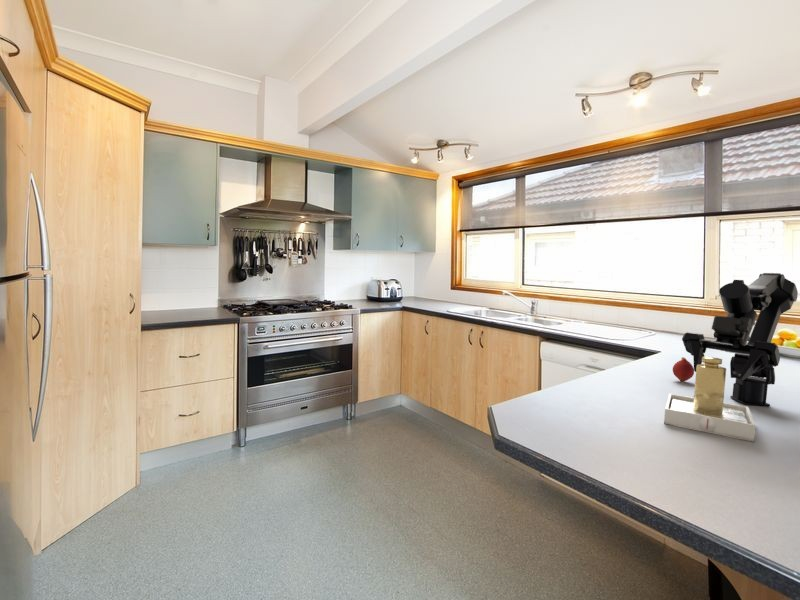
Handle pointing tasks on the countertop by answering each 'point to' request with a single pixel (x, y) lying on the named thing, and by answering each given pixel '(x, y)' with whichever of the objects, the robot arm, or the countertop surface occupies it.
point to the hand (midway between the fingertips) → (717, 375)
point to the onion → (683, 370)
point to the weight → (709, 386)
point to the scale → (710, 421)
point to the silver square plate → (726, 414)
